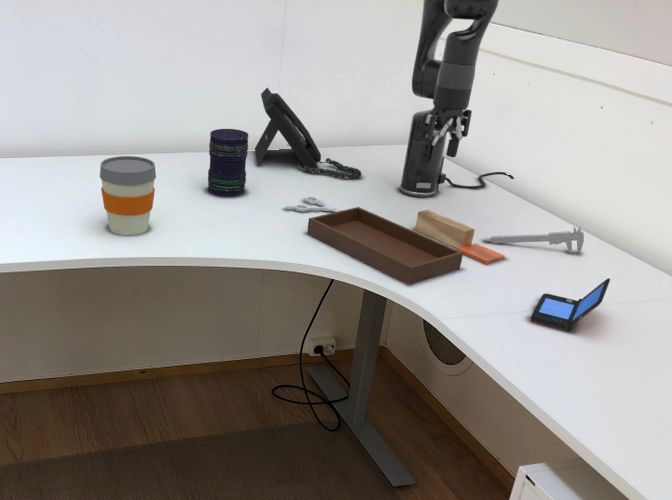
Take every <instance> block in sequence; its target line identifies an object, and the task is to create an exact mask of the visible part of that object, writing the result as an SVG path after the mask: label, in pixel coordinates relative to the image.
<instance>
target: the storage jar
mask: <svg viewBox="0 0 672 500" xmlns="http://www.w3.org/2000/svg"><path fill="white" fill-rule="evenodd" d="M209 137H210V138H209V142H208V143H209V145H208V147H209V150H208V156H209V169H208V171H207V185H208V187H207V193H209V194H210V195H212V196H215V197H219V198H238V197H241V196H243V195H244V194H245V193H246V192H245V187H246V184H247V183H246V182H247V171H246V163H247V157H248V154H249V153H248V150H249V140H248V139H249V133H248V132H247V131H244V130H241V129H235V128H218V129H214V130H212V131H210V133H209Z"/></svg>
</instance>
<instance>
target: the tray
mask: <svg viewBox="0 0 672 500" xmlns="http://www.w3.org/2000/svg"><path fill="white" fill-rule="evenodd" d="M342 210H343V211H338V212H330V213H326V214H321V215H317V216H313V217H309V218H308V222H307V233H306V234H307V235H309V236H311V237H313V238H315V239H316V240H319V241H321V242H322V243H324V244H327V245H328V246H331V247H332V248H335V249H337V250H339V251H340V252H343V253H344V254H347V255H349V256H351V257H353V258H354V259H356V260H358V261H360V262H363V263H364V264H366V265H368V266H370V267H372V268H374V269H376V270H378V271H380V272H382V273H384V274H386V275H389V277H392V278H394V279H396V280H398V281H400V282H402V283H403V284H405V285H408V286H411V285H414V284H417V283H419V282H423V281H427V280H429V279H433V278H436V277H440V276H442V275H446V274H449V273H452V272H455V271H459V270H460V269H461V265H462V261H463V258H464V257H463V256H464V254H463V253H462V252H460V251H458V249H457V248H454V247H452V246H450V245H448V244H445V243H443V242H441V241H437V240H436V239H434V238H432V237H429V236H427V235H425V234H422V233H420V232H418V231H416V230H412V229H410V228H408V227H405V226H403V225H401V224H398V223H397V222H394V221H392V220H389V219H387V218H385V217H383V216H380V215H378V214H375V213H374V212H371V211H368V210H366V209H364V208H362V207H360V206H356V207H352V208H348V209H342Z"/></svg>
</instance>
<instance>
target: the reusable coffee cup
mask: <svg viewBox="0 0 672 500" xmlns="http://www.w3.org/2000/svg"><path fill="white" fill-rule="evenodd" d="M156 173H157V172H156V164H155V161H153V160H151V159H149V158H146V157H142V156H135V155H134V156H133V155H120V156H113V157H109V158H105V159H104V160H102V161H101V162H100V167H99V178H100V179H101V185H102V186H101V187H100V189H101V197H102V203H103V208H104V210H105V211H106V218H107V223H108V229H109V231H110V232H112V233H114V234H116V235H121V236H137V235H141V234H144V233H146V232H147V231H148V230H149V222H150V216H151V211H152V210H153V207H154V200H155V199H154V198H155V192H156V188H155V186H154V185H155V180H156V178H157V174H156Z"/></svg>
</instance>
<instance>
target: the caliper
mask: <svg viewBox="0 0 672 500" xmlns="http://www.w3.org/2000/svg"><path fill="white" fill-rule="evenodd" d="M584 235H585V233H584V231H583V230H582V228H581V226H578V228H577V229H576V227H575V226H573V232H572V231H571V230H567V231H565V230H564V231H550V232H548V233H537V234H510V235H509V234H508V235H507V234H506V235H491V237H486V238H484V241H485V242H490V243H491V244H512V243H513V244H514V243H543V242H545V243H546V242H548V244H549V245H550V246H552V245H561V244H563V243H565V245H566V248H567V251H568V253H569V254H572V250H573V241H576V253H577V254H581V252H582V248H583V245H584V242H585V236H584Z"/></svg>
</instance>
